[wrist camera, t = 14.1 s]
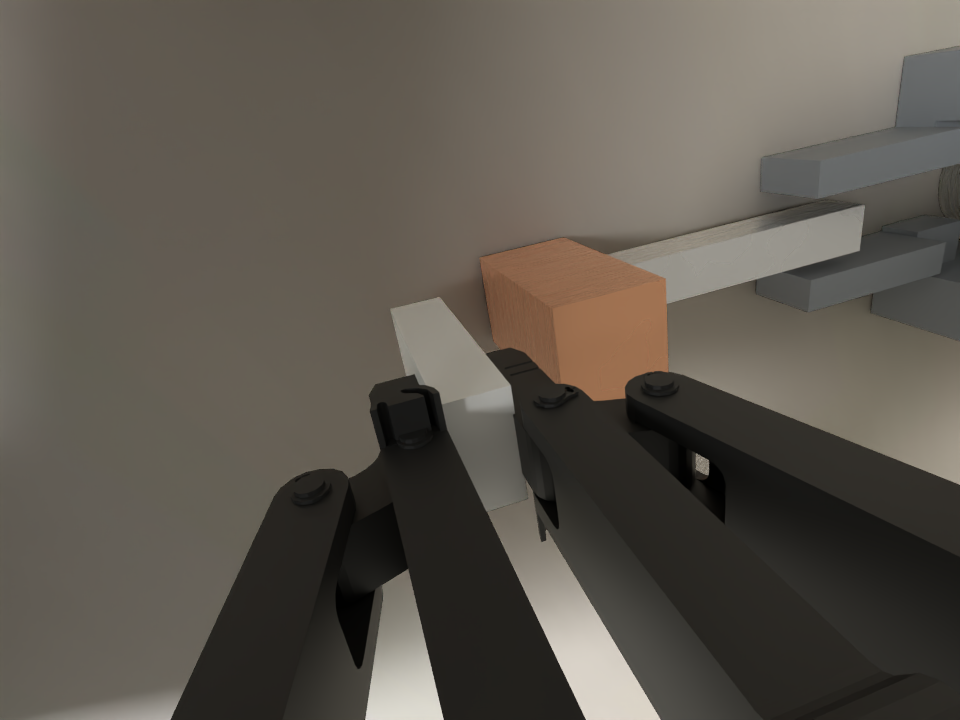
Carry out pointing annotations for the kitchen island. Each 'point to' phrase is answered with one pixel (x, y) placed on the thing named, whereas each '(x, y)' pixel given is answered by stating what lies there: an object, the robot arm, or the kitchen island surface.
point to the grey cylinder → (950, 191)
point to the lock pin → (642, 289)
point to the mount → (899, 246)
